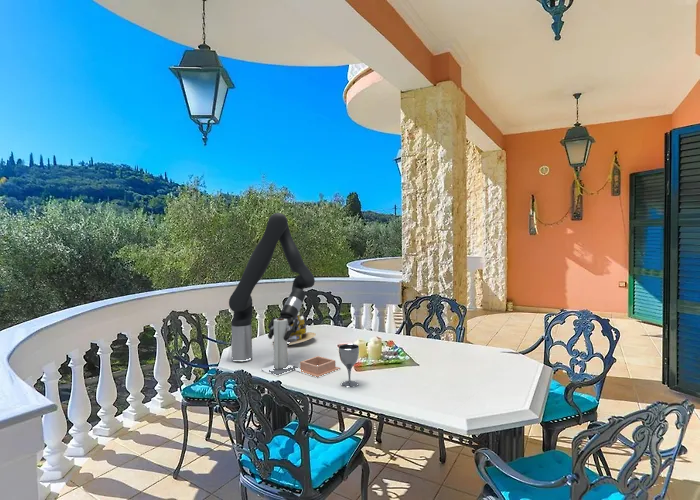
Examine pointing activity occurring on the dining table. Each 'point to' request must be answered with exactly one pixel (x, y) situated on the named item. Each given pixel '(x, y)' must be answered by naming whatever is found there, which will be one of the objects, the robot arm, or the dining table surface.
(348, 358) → the wine glass
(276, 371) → the slate mat
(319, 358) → the terracotta square tray
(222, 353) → the dining table surface
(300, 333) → the tray of yellow jars
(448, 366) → the dining table surface
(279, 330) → the tall grey box
